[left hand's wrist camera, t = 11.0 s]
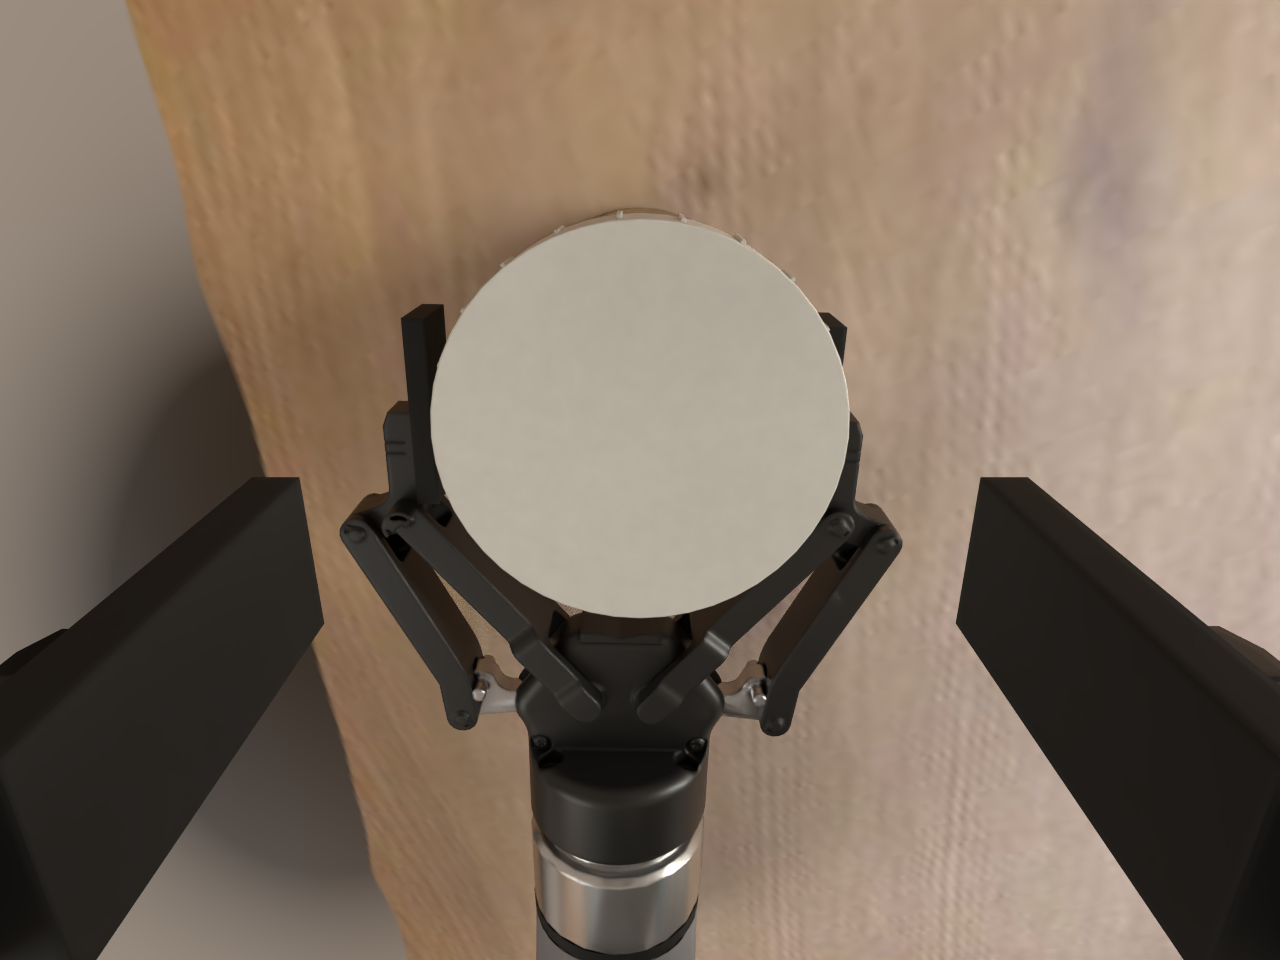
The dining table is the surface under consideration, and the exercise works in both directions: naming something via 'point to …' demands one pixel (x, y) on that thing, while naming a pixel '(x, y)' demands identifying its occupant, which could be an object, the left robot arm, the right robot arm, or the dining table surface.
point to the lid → (639, 416)
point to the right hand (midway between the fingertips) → (625, 313)
